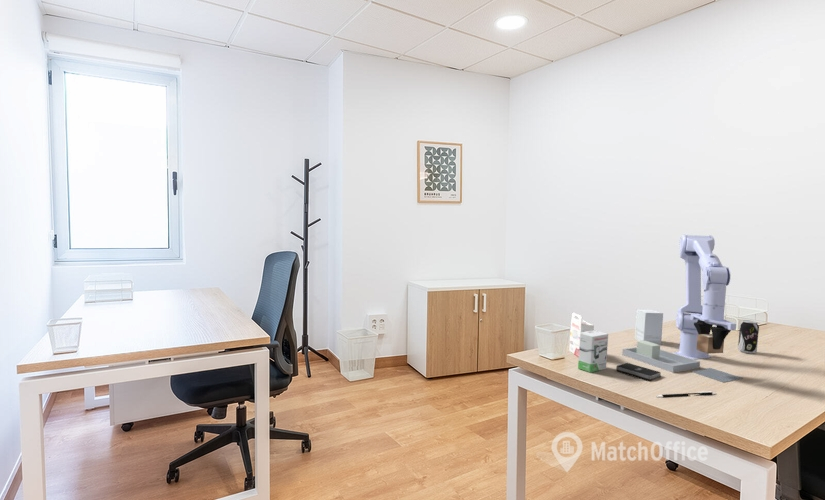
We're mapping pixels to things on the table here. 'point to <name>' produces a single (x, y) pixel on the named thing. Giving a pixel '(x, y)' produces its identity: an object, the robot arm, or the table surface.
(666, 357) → the grey bin
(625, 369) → the external hard drive
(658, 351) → the sage block
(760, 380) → the table surface
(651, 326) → the supplement box
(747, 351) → the beverage can
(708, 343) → the labelled block
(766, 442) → the table surface
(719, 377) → the slate mat
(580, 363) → the ink box
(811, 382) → the table surface
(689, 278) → the robot arm
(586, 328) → the ink cartridge box
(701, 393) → the pen
